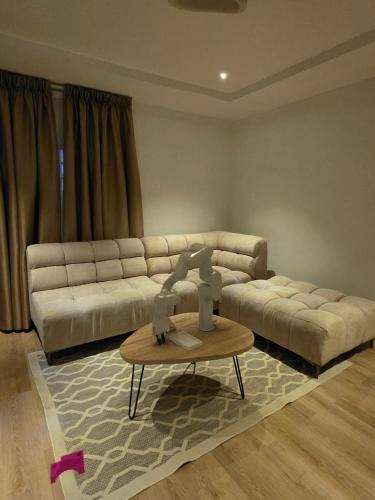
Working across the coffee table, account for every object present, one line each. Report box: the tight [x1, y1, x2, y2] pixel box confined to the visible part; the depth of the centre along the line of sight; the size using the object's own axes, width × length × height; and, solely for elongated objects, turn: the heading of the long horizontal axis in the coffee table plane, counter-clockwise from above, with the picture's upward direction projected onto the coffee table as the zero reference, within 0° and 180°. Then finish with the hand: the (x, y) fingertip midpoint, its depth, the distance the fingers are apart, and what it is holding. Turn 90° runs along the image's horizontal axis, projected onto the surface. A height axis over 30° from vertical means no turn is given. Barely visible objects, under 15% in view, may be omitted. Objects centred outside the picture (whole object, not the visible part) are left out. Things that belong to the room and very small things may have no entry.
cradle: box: [168, 330, 204, 352], centre depth 184 cm, size 11×19×2 cm, turn 40°
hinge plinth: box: [160, 326, 177, 336], centre depth 199 cm, size 12×10×3 cm
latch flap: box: [168, 316, 176, 329], centre depth 198 cm, size 11×8×1 cm
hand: (161, 342), depth 182 cm, fingers closed
